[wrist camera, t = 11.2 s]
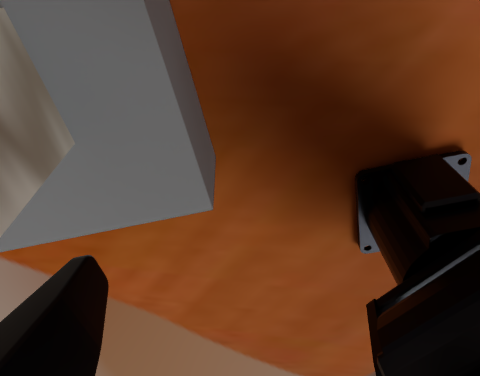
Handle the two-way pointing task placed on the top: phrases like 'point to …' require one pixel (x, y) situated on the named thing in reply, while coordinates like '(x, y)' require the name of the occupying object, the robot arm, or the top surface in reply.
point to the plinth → (113, 118)
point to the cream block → (25, 127)
